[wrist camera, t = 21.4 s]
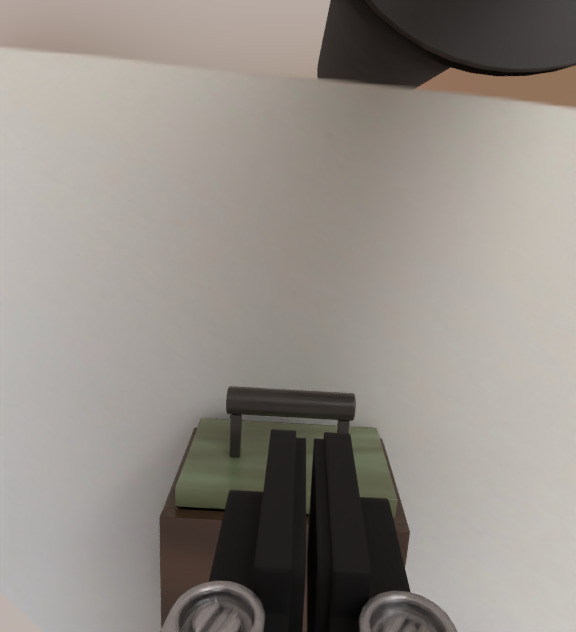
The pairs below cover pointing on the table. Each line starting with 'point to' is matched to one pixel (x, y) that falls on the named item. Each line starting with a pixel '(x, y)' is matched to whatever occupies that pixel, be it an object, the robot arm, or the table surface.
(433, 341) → the table surface
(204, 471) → the drawer
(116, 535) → the table surface
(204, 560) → the cabinet
